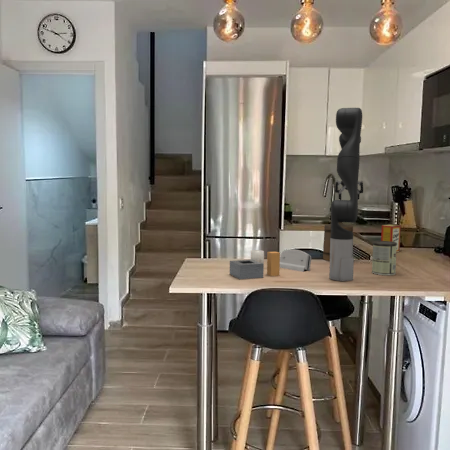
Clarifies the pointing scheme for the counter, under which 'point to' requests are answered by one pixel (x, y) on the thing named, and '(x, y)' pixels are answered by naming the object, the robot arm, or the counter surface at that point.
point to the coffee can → (384, 258)
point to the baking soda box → (391, 234)
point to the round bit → (257, 255)
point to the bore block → (246, 269)
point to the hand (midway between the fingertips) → (348, 199)
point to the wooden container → (328, 237)
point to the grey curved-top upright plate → (295, 260)
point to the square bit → (273, 263)
